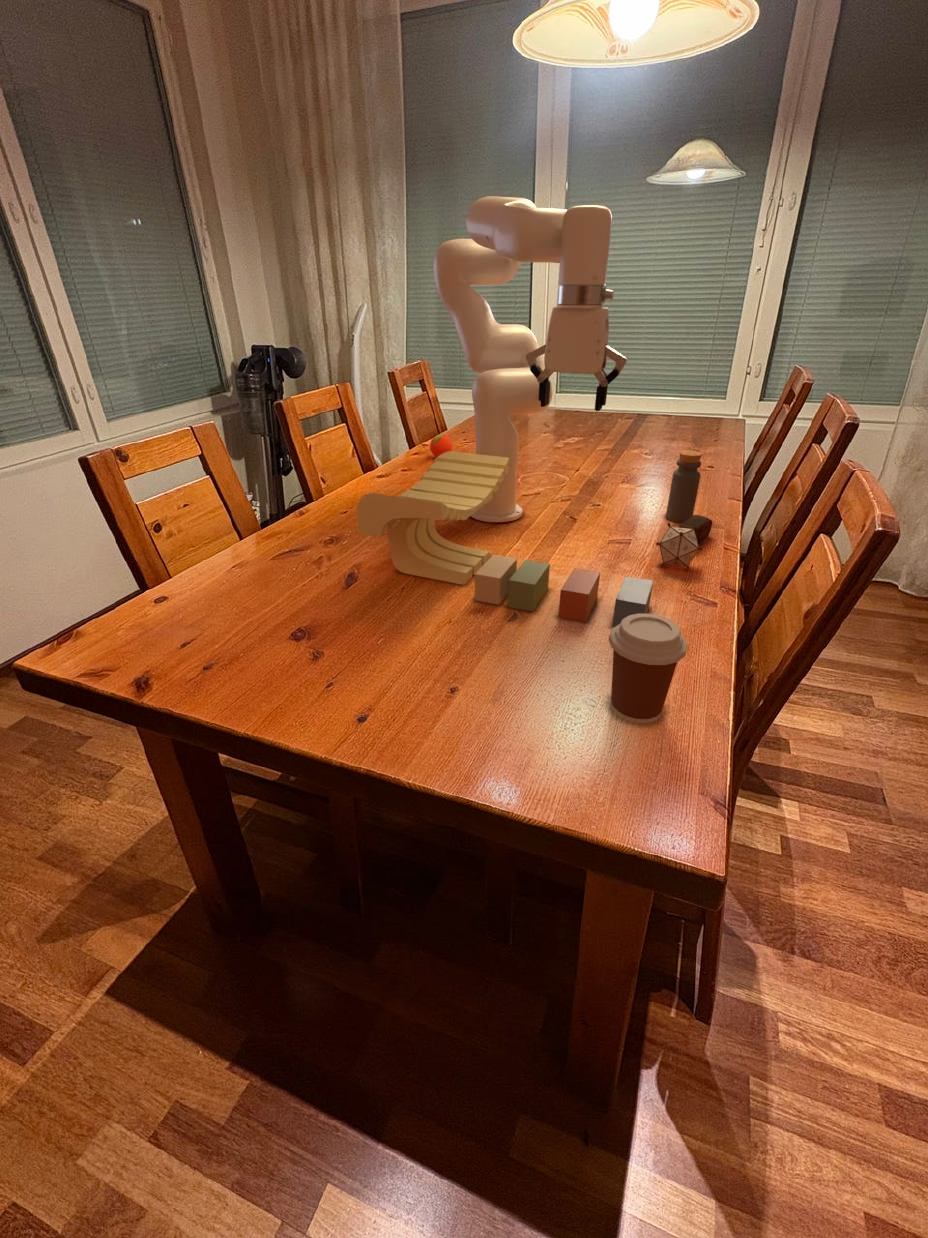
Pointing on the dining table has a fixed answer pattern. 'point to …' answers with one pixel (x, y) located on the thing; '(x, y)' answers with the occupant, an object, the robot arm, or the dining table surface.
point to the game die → (679, 546)
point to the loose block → (579, 594)
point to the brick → (698, 526)
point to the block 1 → (494, 579)
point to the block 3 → (632, 598)
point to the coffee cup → (644, 665)
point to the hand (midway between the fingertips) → (571, 407)
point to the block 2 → (528, 585)
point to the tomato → (440, 445)
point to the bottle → (684, 487)
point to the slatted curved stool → (434, 516)
